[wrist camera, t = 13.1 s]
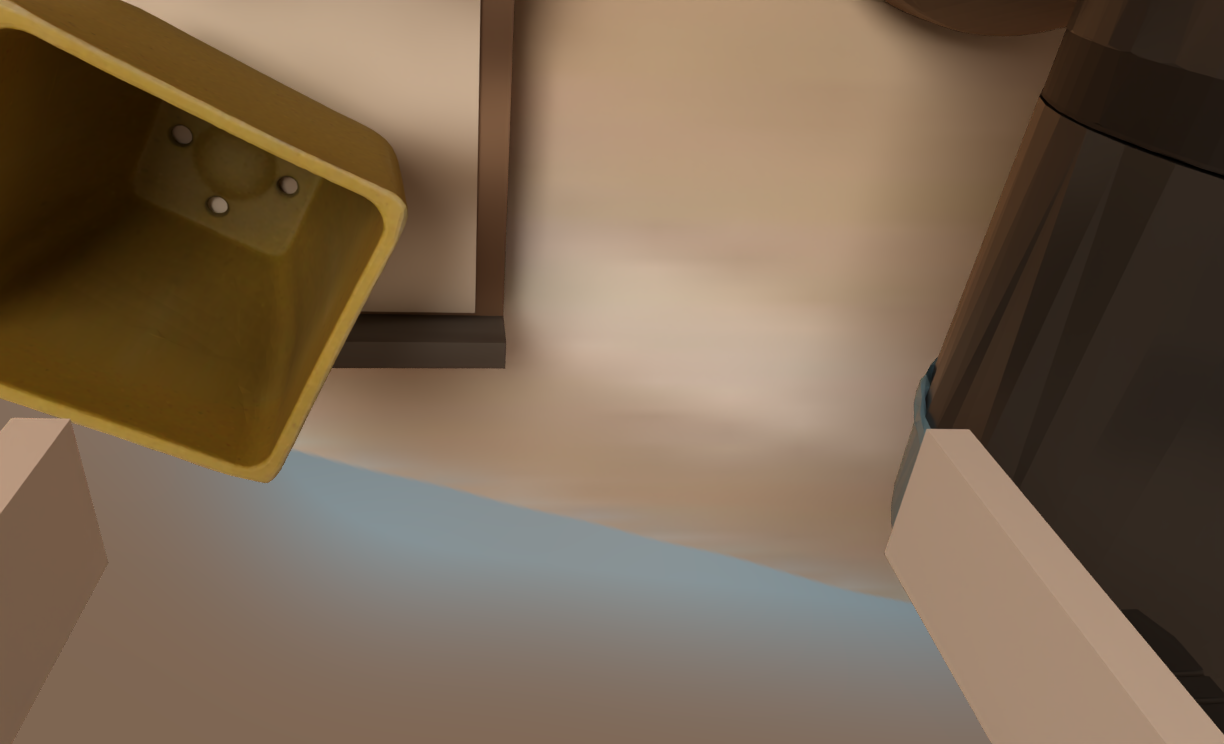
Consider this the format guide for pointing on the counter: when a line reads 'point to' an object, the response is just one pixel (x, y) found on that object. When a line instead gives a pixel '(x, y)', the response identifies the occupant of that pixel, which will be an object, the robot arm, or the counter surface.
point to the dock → (401, 149)
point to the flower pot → (176, 235)
